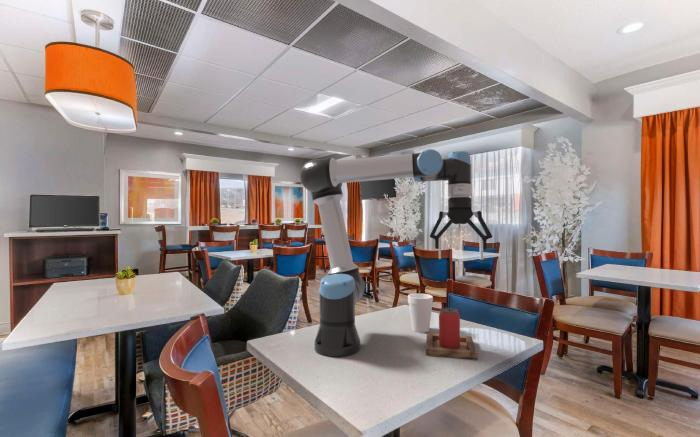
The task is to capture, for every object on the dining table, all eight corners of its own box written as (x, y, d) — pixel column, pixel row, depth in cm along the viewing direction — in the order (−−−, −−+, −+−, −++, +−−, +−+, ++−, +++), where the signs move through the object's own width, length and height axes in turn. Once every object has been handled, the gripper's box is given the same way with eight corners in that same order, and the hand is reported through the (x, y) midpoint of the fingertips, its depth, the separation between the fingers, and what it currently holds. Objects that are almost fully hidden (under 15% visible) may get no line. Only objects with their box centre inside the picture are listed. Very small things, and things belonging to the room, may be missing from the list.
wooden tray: (425, 355, 101) (425, 348, 101) (426, 337, 117) (426, 331, 117) (477, 360, 98) (477, 353, 98) (471, 340, 114) (470, 334, 114)
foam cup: (438, 332, 123) (437, 297, 123) (417, 335, 120) (416, 299, 120) (423, 324, 132) (423, 292, 132) (403, 327, 128) (403, 294, 129)
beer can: (462, 345, 108) (462, 308, 108) (457, 352, 102) (456, 313, 102) (442, 341, 111) (442, 306, 112) (436, 347, 106) (436, 310, 106)
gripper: (422, 197, 112) (422, 259, 111) (501, 195, 106) (501, 260, 105) (422, 198, 119) (423, 257, 119) (496, 197, 113) (497, 258, 113)
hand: (460, 259), depth 112 cm, fingers open, 13 cm apart
